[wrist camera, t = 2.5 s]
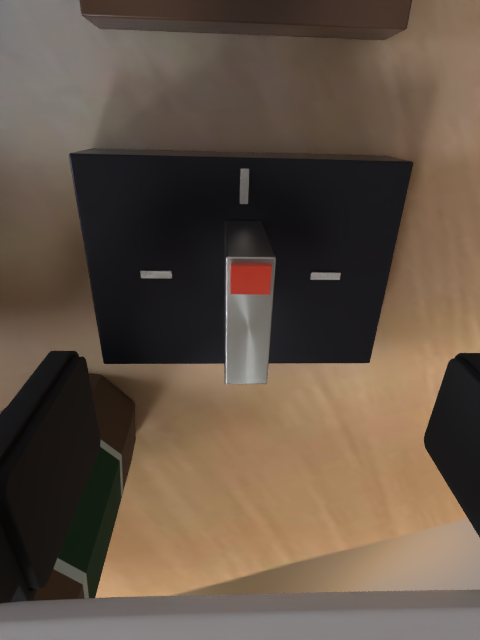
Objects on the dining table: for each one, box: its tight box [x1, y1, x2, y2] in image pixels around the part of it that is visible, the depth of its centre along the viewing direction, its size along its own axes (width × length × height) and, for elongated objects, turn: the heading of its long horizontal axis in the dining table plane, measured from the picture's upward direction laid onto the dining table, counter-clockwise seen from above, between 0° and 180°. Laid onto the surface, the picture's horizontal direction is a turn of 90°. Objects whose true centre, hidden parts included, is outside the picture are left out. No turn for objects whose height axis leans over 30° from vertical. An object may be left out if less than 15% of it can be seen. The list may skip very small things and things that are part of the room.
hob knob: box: [224, 220, 276, 384], centre depth 15 cm, size 5×2×5 cm, turn 179°
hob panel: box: [69, 149, 413, 364], centre depth 19 cm, size 14×10×3 cm
